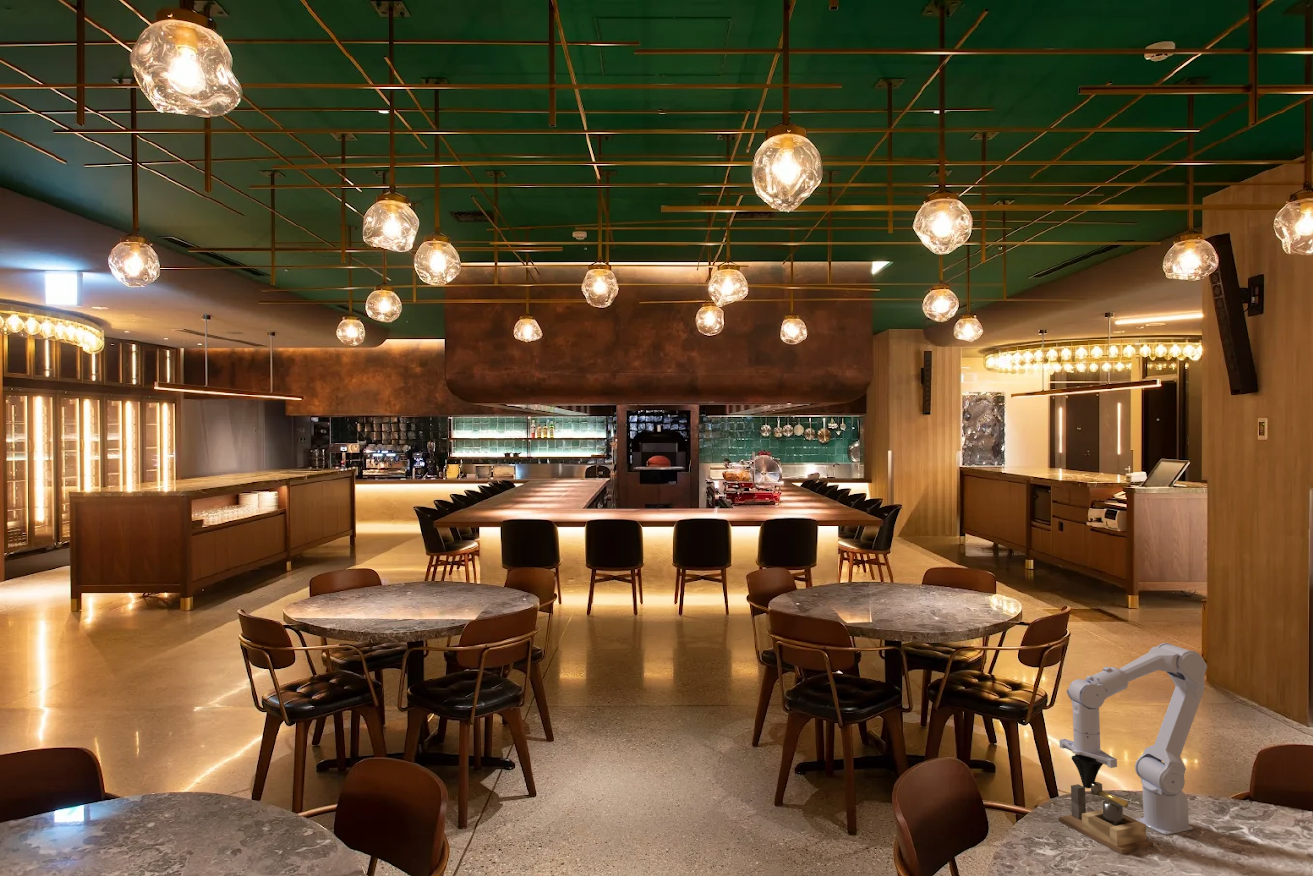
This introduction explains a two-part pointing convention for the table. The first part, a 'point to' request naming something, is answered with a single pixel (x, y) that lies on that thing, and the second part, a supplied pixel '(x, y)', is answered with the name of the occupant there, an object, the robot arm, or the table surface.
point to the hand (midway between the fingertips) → (1088, 787)
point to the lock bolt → (1106, 794)
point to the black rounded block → (1112, 813)
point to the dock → (1105, 826)
